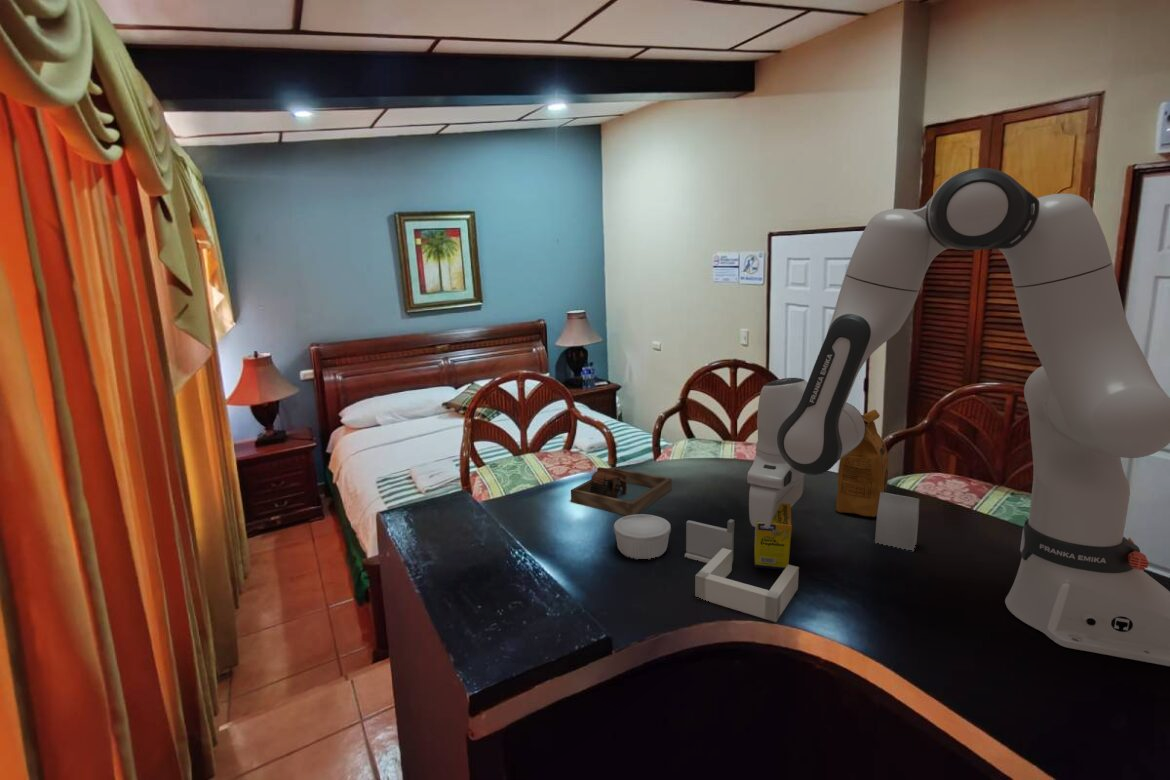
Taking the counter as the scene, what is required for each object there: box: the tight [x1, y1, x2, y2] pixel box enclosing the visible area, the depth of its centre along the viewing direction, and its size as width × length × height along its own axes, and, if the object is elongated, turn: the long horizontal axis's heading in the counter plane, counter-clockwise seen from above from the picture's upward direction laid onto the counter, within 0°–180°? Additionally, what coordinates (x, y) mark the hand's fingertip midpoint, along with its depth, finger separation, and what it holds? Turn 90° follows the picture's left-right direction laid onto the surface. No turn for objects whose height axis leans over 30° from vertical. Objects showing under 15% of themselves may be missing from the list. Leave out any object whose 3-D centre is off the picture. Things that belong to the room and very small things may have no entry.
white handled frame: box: [684, 548, 800, 623], centre depth 105 cm, size 21×14×4 cm
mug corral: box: [570, 467, 673, 516], centre depth 146 cm, size 17×19×3 cm
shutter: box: [685, 518, 735, 563], centre depth 113 cm, size 9×1×8 cm, turn 55°
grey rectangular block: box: [874, 492, 920, 552], centre depth 117 cm, size 4×7×10 cm, turn 54°
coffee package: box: [835, 409, 890, 518], centre depth 133 cm, size 10×12×22 cm
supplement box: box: [753, 503, 793, 571], centre depth 109 cm, size 6×6×11 cm
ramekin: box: [613, 513, 672, 560], centre depth 119 cm, size 11×11×5 cm
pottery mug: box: [588, 467, 628, 499], centre depth 146 cm, size 12×10×8 cm
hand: (776, 533), depth 115 cm, fingers closed
